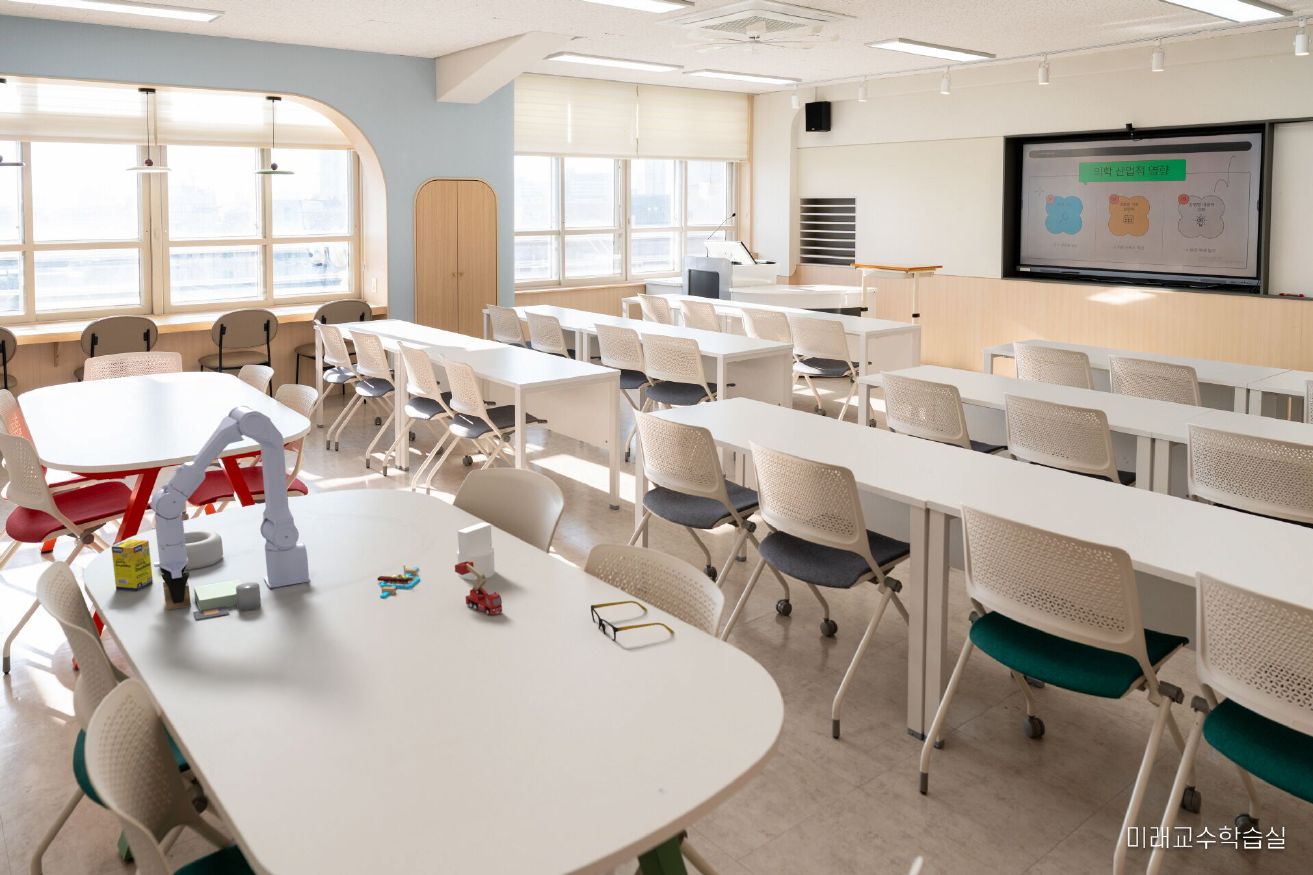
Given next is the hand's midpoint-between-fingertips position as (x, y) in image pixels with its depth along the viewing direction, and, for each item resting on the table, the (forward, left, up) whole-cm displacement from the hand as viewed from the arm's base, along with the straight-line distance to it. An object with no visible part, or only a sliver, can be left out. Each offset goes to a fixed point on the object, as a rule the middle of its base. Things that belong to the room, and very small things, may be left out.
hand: (177, 598), depth 239 cm
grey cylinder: (-14, +10, -2) cm, 17 cm away
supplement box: (+8, -18, -2) cm, 20 cm away
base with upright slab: (-67, +14, -2) cm, 68 cm away
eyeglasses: (-85, +62, -2) cm, 105 cm away
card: (-6, +10, -1) cm, 12 cm away
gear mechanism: (-48, +11, -2) cm, 49 cm away
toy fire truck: (-60, +36, -2) cm, 70 cm away
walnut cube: (0, 0, -1) cm, 1 cm away
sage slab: (-9, +2, -2) cm, 9 cm away
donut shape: (-6, -31, -2) cm, 32 cm away
